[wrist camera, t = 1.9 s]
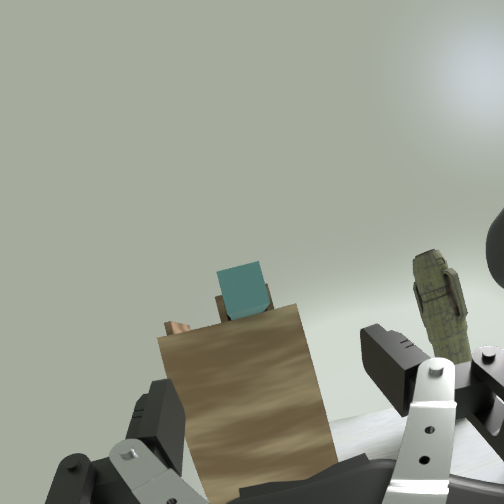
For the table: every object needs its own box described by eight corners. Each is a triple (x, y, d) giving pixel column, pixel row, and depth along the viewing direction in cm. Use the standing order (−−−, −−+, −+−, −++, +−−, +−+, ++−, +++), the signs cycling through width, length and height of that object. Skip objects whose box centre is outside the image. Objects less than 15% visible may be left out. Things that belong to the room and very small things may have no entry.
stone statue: (475, 418, 42) (436, 245, 51) (430, 419, 53) (393, 265, 61) (493, 397, 46) (456, 240, 55) (451, 401, 56) (416, 258, 65)
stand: (235, 517, 38) (174, 318, 46) (332, 493, 39) (278, 292, 48) (233, 558, 26) (151, 312, 35) (353, 528, 27) (288, 277, 36)
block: (236, 324, 48) (230, 302, 49) (258, 319, 48) (252, 297, 49) (227, 313, 25) (216, 271, 26) (270, 302, 25) (258, 261, 26)
